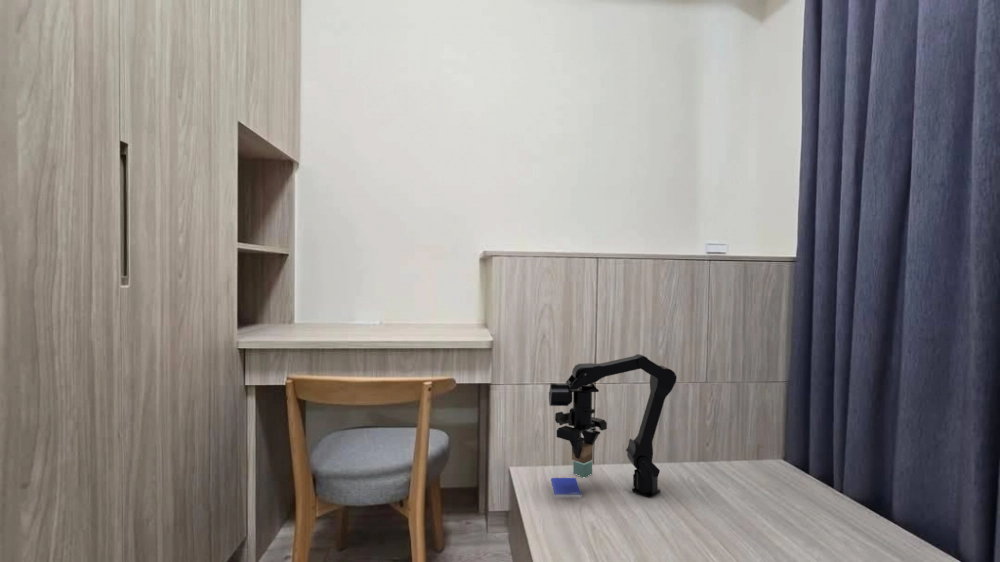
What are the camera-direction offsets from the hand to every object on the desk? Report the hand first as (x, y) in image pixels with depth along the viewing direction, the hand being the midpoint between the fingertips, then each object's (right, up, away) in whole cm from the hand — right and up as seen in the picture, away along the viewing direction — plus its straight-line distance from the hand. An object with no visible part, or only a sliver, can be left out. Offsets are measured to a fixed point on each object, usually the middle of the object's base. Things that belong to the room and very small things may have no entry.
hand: (582, 456), depth 149 cm
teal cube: (+3, -12, +15) cm, 19 cm away
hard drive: (-5, -12, +4) cm, 14 cm away
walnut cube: (0, -1, 0) cm, 1 cm away
